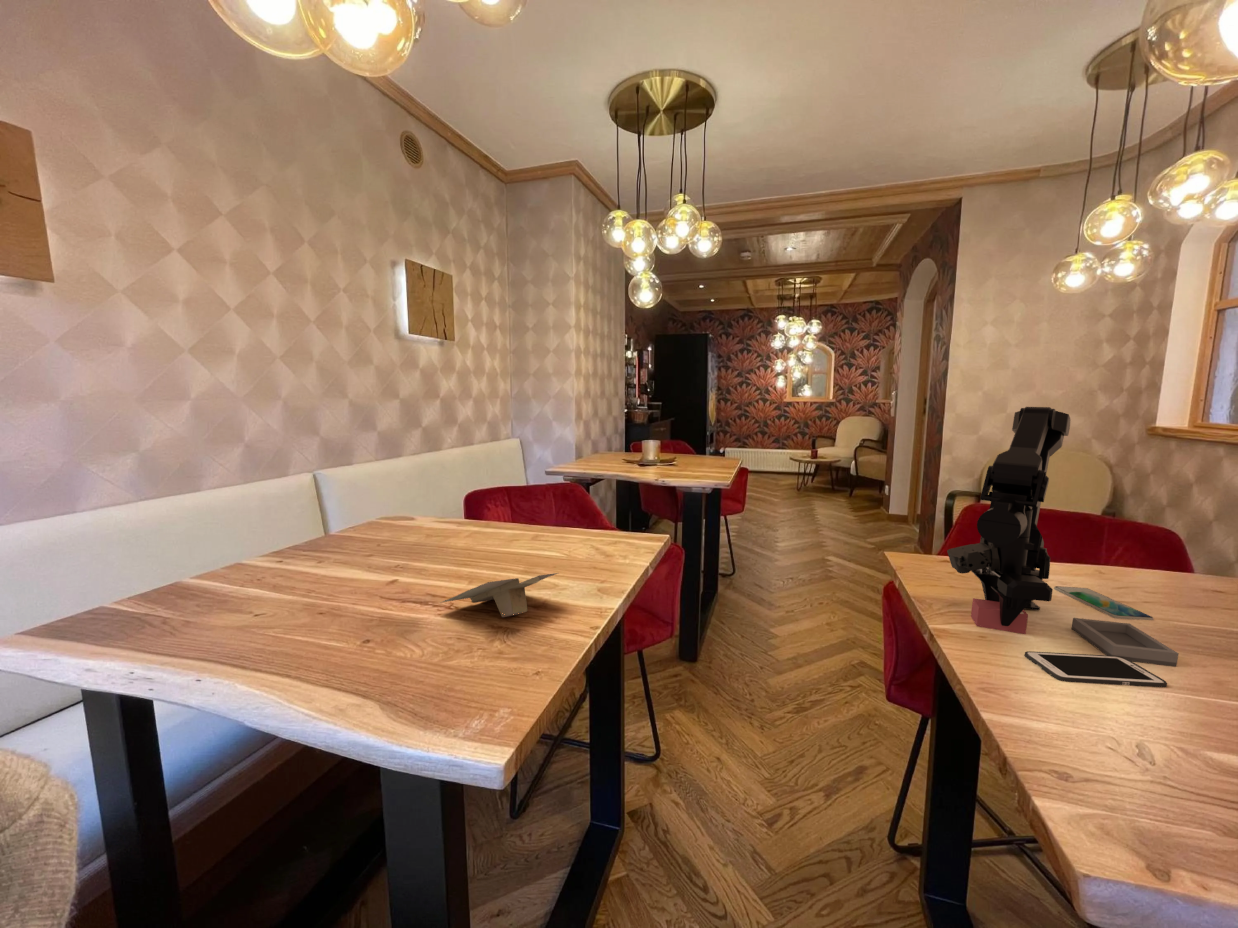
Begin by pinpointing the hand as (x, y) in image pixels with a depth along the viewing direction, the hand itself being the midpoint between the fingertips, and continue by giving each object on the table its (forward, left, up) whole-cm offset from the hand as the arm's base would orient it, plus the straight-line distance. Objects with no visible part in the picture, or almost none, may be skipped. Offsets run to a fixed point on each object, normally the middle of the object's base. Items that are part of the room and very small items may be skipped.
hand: (998, 619), depth 91 cm
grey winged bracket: (+20, -86, -2) cm, 89 cm away
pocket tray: (+3, +16, -1) cm, 16 cm away
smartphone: (-18, +25, -2) cm, 30 cm away
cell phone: (+14, +7, -2) cm, 15 cm away
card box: (0, 0, -1) cm, 1 cm away
